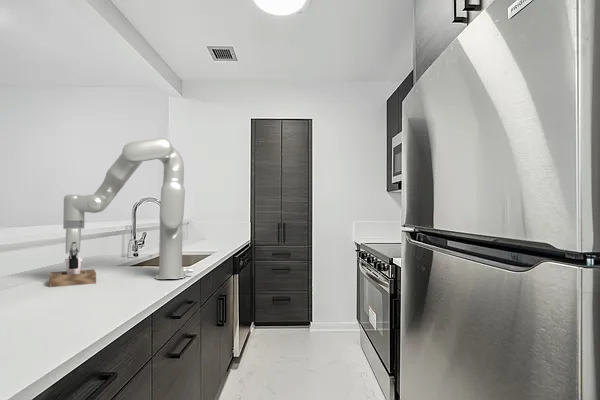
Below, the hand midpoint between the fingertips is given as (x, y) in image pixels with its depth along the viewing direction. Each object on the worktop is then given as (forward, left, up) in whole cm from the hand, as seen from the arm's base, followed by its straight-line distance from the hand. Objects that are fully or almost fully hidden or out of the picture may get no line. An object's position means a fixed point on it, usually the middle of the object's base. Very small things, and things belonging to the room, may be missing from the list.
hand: (73, 267), depth 166 cm
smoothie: (0, 0, -6) cm, 7 cm away
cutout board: (0, 0, -6) cm, 6 cm away
